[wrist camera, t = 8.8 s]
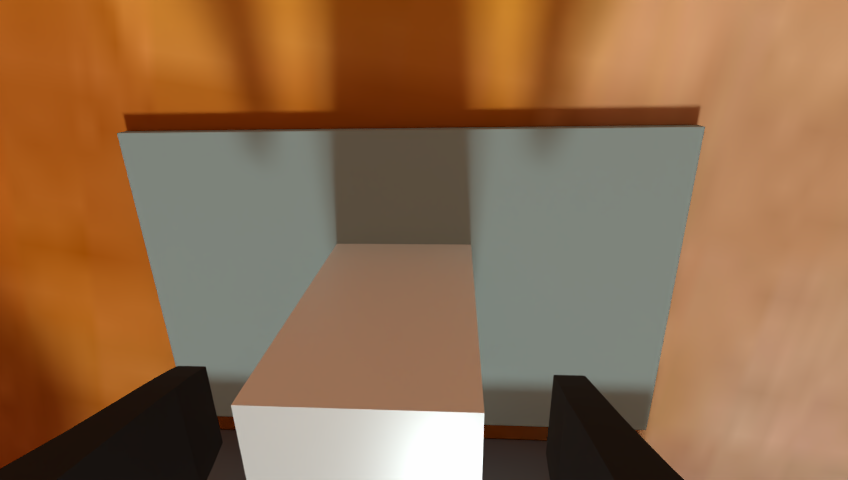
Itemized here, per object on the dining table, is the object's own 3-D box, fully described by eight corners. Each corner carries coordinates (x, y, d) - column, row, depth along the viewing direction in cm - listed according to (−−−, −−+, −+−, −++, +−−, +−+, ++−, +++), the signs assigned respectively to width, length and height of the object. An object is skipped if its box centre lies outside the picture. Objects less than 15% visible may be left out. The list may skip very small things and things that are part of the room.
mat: (194, 407, 17) (188, 415, 17) (126, 131, 13) (116, 133, 13) (641, 421, 16) (645, 429, 16) (697, 124, 12) (705, 127, 12)
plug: (347, 356, 15) (266, 574, 9) (336, 243, 14) (230, 405, 7) (468, 359, 15) (478, 587, 8) (470, 244, 14) (484, 413, 7)
